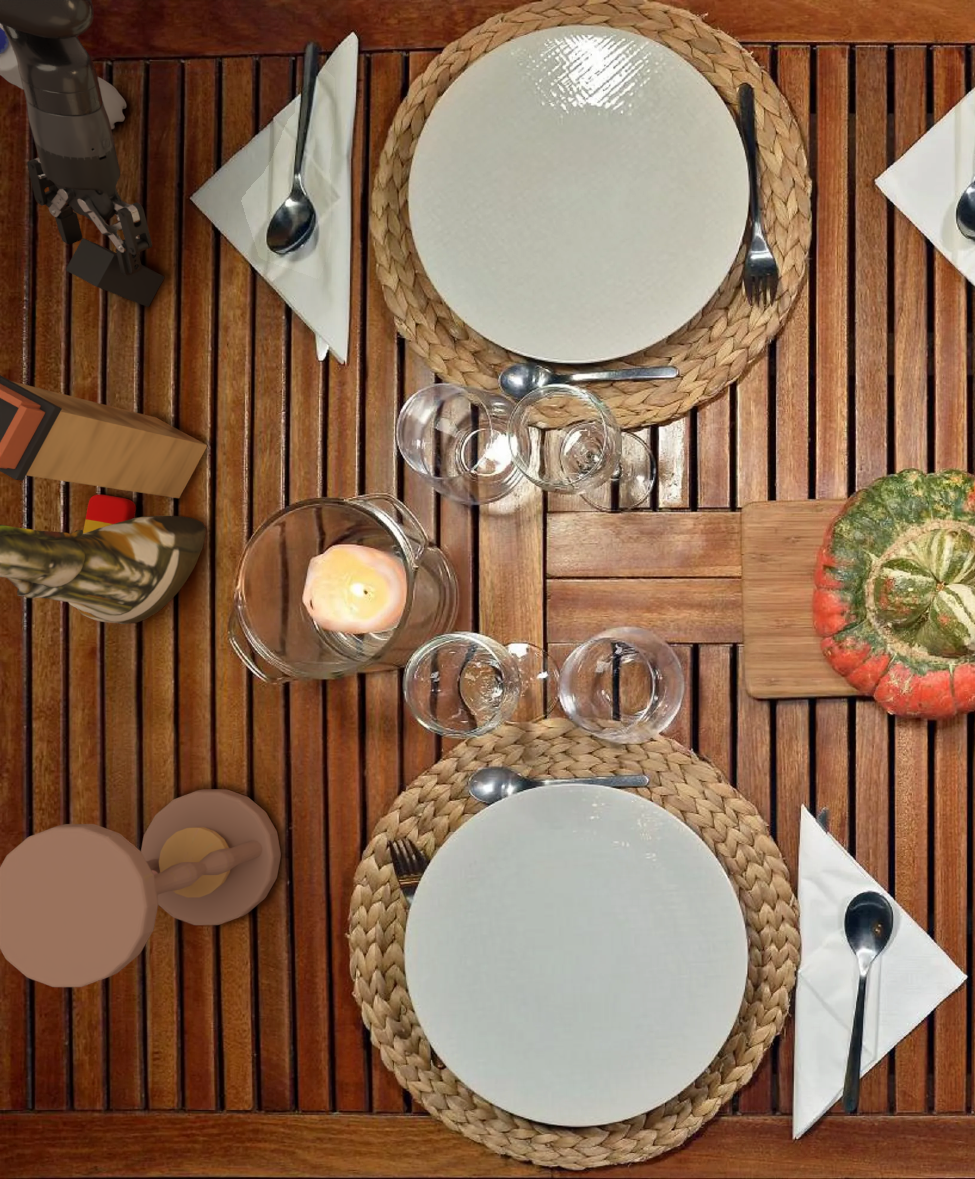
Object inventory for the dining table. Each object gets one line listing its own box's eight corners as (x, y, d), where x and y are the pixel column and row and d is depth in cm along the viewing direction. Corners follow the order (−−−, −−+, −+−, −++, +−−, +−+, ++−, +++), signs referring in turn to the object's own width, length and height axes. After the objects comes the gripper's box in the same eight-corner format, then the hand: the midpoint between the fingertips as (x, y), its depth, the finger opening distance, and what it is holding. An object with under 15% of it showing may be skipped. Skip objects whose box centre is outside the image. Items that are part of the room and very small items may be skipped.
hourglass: (284, 790, 141) (148, 829, 116) (280, 923, 141) (142, 991, 116) (152, 786, 141) (-11, 824, 116) (147, 919, 141) (-18, 986, 116)
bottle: (139, 128, 143) (12, 50, 123) (91, 142, 143) (-43, 66, 123) (126, 80, 143) (-2, -6, 123) (79, 94, 143) (-57, 10, 123)
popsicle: (139, 500, 142) (128, 499, 140) (119, 611, 142) (108, 612, 140) (99, 493, 142) (88, 492, 140) (79, 604, 142) (67, 604, 140)
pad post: (118, 291, 143) (65, 270, 134) (135, 261, 143) (82, 237, 134) (148, 307, 143) (96, 287, 134) (165, 277, 143) (114, 254, 134)
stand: (127, 470, 142) (-42, 440, 117) (155, 417, 142) (-7, 376, 117) (179, 498, 142) (21, 474, 117) (207, 445, 142) (56, 410, 117)
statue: (174, 496, 142) (-68, 460, 107) (237, 547, 142) (15, 527, 107) (97, 594, 142) (-170, 590, 107) (160, 645, 142) (-88, 657, 107)
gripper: (-10, 118, 121) (26, 242, 132) (98, 176, 121) (125, 295, 132) (50, 99, 126) (80, 220, 138) (154, 154, 126) (175, 271, 137)
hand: (102, 257), depth 135 cm, fingers open, 8 cm apart
